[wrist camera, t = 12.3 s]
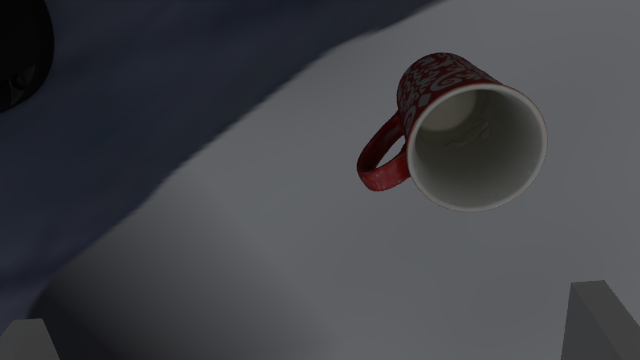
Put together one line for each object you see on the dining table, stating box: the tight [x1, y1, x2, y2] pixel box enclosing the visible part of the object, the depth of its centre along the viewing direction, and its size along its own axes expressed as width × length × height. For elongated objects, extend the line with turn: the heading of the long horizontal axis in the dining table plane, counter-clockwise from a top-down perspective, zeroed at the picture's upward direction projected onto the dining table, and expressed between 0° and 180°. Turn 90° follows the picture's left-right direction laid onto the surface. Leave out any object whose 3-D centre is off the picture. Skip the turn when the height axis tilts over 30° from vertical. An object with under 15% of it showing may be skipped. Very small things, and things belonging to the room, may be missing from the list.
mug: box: [357, 53, 548, 212], centre depth 40 cm, size 13×9×14 cm
